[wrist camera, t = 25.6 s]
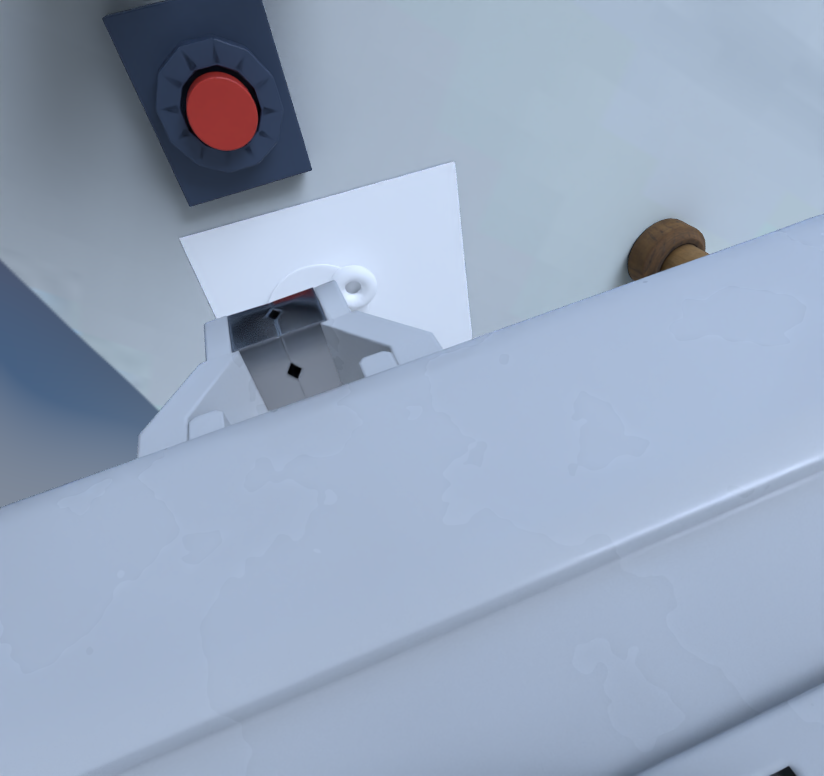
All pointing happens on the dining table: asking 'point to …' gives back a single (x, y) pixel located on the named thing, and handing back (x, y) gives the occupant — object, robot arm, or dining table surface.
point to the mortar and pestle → (665, 248)
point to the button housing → (194, 56)
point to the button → (221, 111)
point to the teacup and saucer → (350, 254)
